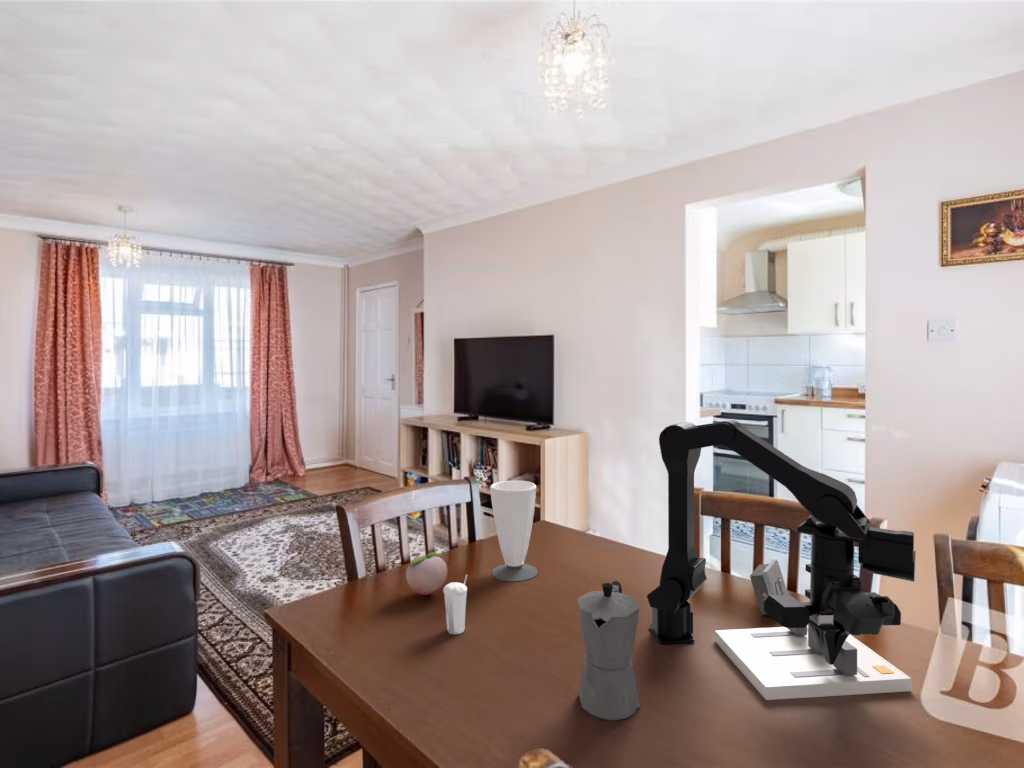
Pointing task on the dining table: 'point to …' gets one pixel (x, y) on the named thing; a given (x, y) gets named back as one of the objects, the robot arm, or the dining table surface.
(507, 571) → the cup
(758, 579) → the electrical switch
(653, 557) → the dining table surface
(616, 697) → the coffeepot
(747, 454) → the robot arm
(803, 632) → the far breaker handle
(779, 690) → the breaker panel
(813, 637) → the handle
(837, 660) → the block
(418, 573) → the decorative fruit
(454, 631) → the milkshake
